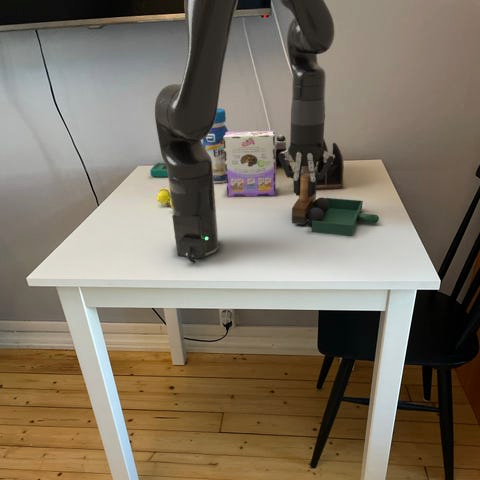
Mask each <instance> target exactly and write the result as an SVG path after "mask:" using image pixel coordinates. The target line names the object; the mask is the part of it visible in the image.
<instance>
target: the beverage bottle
mask: <svg viewBox="0 0 480 480" xmlns="http://www.w3.org/2000/svg"><path fill="white" fill-rule="evenodd" d="M226 116H227V115H226V110H225V109H224V108H222V107H221V108H219V107H217V113H216V118H215V122H214V125H213V127H212V129H211V131H210V132H209V134H208V135H207V136H206V137H205V138H204V139H202V141H201V142H202V145H203V147H204V149H205V150H206V151H207V153H208V154H209V155H210V157H211V159H212V168H213V180H214V184H223V183H226V170H225V156H224V142H223V137H224V135H225V133H226V132H229V130H228V127H226V125H225V123H226V119H227V117H226Z"/></svg>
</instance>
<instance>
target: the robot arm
mask: <svg viewBox="0 0 480 480" xmlns="http://www.w3.org/2000/svg"><path fill="white" fill-rule="evenodd" d="M238 2H239V0H183V5H184V6H183V7H184V20H185V27H186V28H185V29H186V34H187V35H186V36H187V57H186V63H185V68H184V73H183V77H182V81H181V84H180V83H173V84H168V85H166V86H164V87H163V88H162V89H161V90H160V91H159V92H158V94H157V97H156V98H155V99H156V100H155V103H154V119H155V121H154V122H155V127H156V134H157V137H158V144H159V149H160V150H159V151H160V154H161V157H162V160H163V163H165V164H166V167H167V172H168V177H167V178H168V184H169V185H168V187H169V188H170V194H171V199H170V200H171V201H172V208H171V210H172V216H171V217H172V224H173V233H174V239H175V247H176V255H177V256H181V257H187V259H188V261H189V262H190V263H192V264H196V259H204V258H205V257H208V256H210V255H213V254H215V253H216V252H218V250H219V249H220V242H219V233H218V232H219V231H218V221H217V207H216V195H215V183H214V180H213V168H212V159H211V157H210V155H209V154H208V153H207V151H206V150H205V149H204V147H203V145H202V142H203V139H204V138H205V137H206V136H207V135H208V134H209V132H210V131H211V129H212V127H213V125H214V122H215V118H216V113H217V108H219V107H218V106H219V99H220V91H221V84H222V83H221V82H222V77H223V76H222V75H223V69H224V65H225V64H224V63H225V59H226V58H225V57H226V54H227V50H228V49H227V48H228V45H229V40H230V35H231V31H232V27H233V22H234V18H235V13H236V11H237V6H238ZM279 3H280V4H281V6H282V7H283V8H285V10H288V11H289V12H290V13H291V14H292V15H293V18H292V19H291V21H290V23H289V25H288V29H287V34H286V45H287V46H286V47H287V48H286V49H287V54H288V58H289V65H290V66H289V67H290V70H291V75H292V84H291V85H292V86H291V88H292V89H291V106H290V130H289V131H290V132H289V133H290V135H289V136H290V137H289V138H290V139H289V146H288V148H287V149H286V151H282V152H281V153H280V154H279V155H278V158H279V161H280V163H281V165H282V167H281V168H282V170H283V172H284V174H285V176H286V178H288V179H289V178H290V179H292V180H293V193H294V194H295V196H296V197H299V192H300V174H302V171H303V166H307V167H309V172H310V180H311V181H310V182H309V197H312V196H313V195H314V194H315V192H316V193H317V189H316V186H317V180H322V179H323V178H324V176H325V174H326V173H327V171H328V169H329V167H330V165H331V164H332V162H333V160H334V158H335V155H334V154H333V153H330V152H329V151H328V152H326V151H325V148H324V145H323V139H324V140H325V138H324V136H325V134H324V133H325V119H326V101H325V97H326V96H325V95H326V80H327V78H326V77H327V76H326V71H325V70H324V68H323V67H322V66H320V64H319V63H318V55H322V54H324V53H326V52H327V51H328V50H329V49H331V47H332V45H333V43H334V39H335V35H336V34H335V32H336V31H335V29H336V28H335V22H334V19H333V16H332V14H331V11H330V9H329V8H328V5H327V4H326V2H325V0H279ZM322 156H324V162H325V165H324V167H323V169H322V170H321V172H320V173H318V174H317V165H318V161H319V160H320V158H321V157H322ZM290 158H292V160H293V163H294V169H293V167H292V165H291V162H290Z"/></svg>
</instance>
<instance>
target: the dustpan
mask: <svg viewBox="0 0 480 480" xmlns="http://www.w3.org/2000/svg"><path fill="white" fill-rule="evenodd" d="M325 198H326V199H327V200H328V201H329V209H328V211H327V212H325V213H324V218H323V221H322V222H320V221H312V224H311V232H312V233H319V234H328V235H329V234H330V235H338V236H348V237H350V236H353V234H354V231H355V229H356V226H357V224H358V223H368V224H377V223H378V222H379V221H380V216H379V215H378V214H373V213H362V210H363V205H364V204H363V203H364V200H358V199H346V198H333V197H325Z"/></svg>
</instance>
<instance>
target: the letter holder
mask: <svg viewBox="0 0 480 480" xmlns="http://www.w3.org/2000/svg"><path fill="white" fill-rule="evenodd" d="M323 145H324V148H325V151H326V152H328V153H329V150H328V146H327V143H326V141H325V138H324V139H323ZM332 154H334V155H335V158H334V160H333V162H332V164H331V165H330V167H329V169H328V171H327V173H326V174H325V176H324V178H323V179H322V180H317V186H316V190H329V189H331V190H332V189H333V190H334V189H343V187H344V185H343V184H344V183H343V182H344V169H345V168H344V166H345V165H344V156H343V154H342V152H341V149H340V147H339V145H338V144H337V143H336V142H333V143H332ZM324 165H325V162H324V156H322V157H321V158H320V160H319V161H318V162H317V174H318V173H320V172H321V170H322V169H323V167H324ZM302 171H303V173H308V174H310V172H309V167H307V166H303V167H302Z"/></svg>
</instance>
